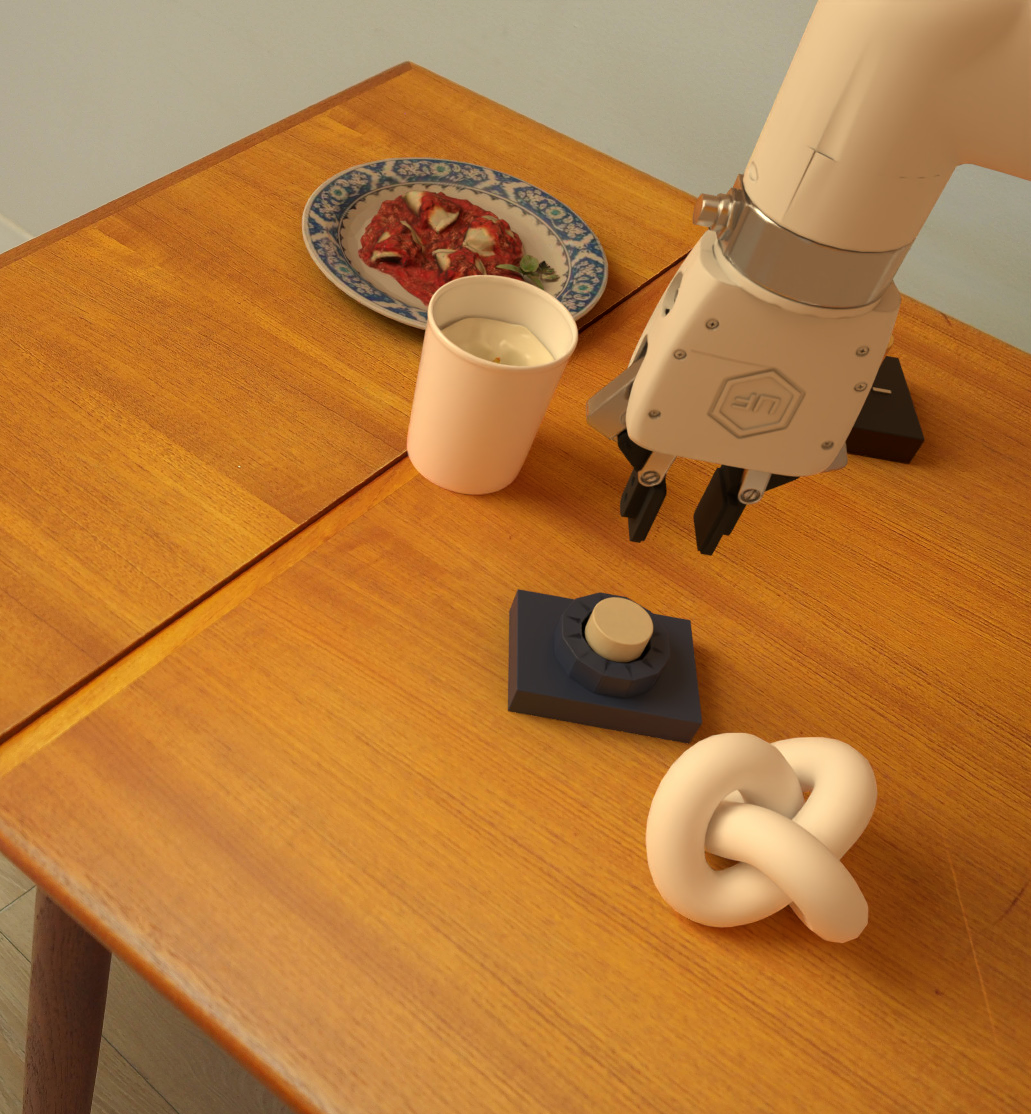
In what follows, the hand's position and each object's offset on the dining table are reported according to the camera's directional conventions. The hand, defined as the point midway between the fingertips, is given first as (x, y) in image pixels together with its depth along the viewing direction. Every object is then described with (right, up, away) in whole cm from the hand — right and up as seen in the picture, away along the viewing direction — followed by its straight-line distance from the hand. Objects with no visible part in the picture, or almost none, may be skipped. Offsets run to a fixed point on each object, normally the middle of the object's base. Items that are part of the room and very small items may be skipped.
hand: (668, 528), depth 68 cm
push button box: (-2, -9, +10) cm, 13 cm away
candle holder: (-8, +6, +22) cm, 24 cm away
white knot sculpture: (+3, -19, +1) cm, 19 cm away
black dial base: (+21, +10, +31) cm, 39 cm away
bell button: (-1, -6, +7) cm, 10 cm away
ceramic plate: (-7, +23, +38) cm, 45 cm away
